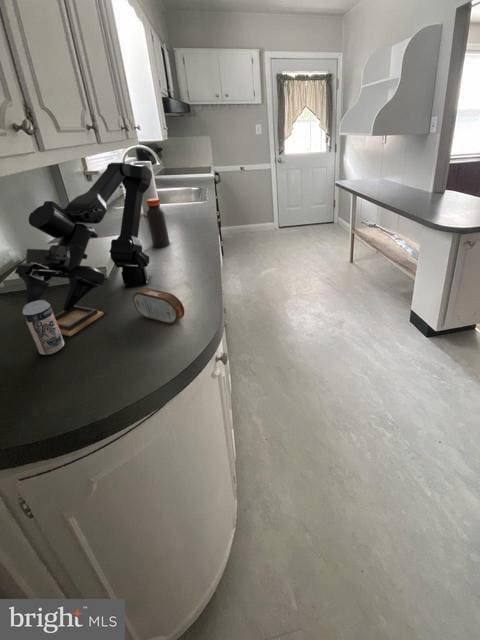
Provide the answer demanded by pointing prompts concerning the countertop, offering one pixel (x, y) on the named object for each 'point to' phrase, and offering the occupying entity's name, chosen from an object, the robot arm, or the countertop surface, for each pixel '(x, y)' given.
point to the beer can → (43, 327)
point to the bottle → (157, 223)
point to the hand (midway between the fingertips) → (47, 309)
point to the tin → (158, 305)
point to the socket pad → (76, 319)
